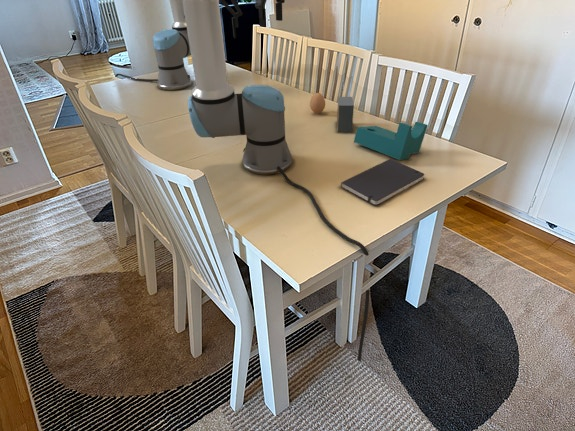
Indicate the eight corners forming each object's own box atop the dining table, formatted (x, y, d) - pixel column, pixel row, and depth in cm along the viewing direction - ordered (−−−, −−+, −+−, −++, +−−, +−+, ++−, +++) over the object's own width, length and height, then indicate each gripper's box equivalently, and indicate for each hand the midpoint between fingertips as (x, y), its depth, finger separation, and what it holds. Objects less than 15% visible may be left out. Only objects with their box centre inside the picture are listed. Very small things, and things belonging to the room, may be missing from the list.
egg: (314, 117, 155) (314, 96, 150) (307, 111, 159) (307, 91, 155) (327, 114, 157) (328, 94, 152) (320, 109, 161) (320, 89, 157)
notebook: (389, 163, 124) (340, 187, 113) (390, 158, 123) (341, 182, 112) (424, 178, 116) (375, 206, 105) (425, 174, 115) (376, 201, 104)
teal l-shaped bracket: (417, 156, 130) (427, 124, 125) (399, 160, 122) (409, 126, 118) (372, 139, 141) (380, 110, 136) (353, 141, 133) (361, 110, 129)
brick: (336, 122, 151) (338, 96, 145) (350, 122, 150) (352, 96, 144) (337, 132, 144) (338, 105, 138) (351, 132, 143) (353, 105, 137)
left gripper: (261, -35, 143) (263, 30, 156) (292, -40, 161) (293, 18, 174) (243, -35, 146) (247, 28, 159) (276, -40, 164) (277, 17, 176)
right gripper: (243, -32, 139) (248, 34, 152) (170, -29, 135) (181, 39, 147) (247, -31, 133) (251, 38, 146) (169, -27, 129) (181, 43, 141)
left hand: (271, 23), depth 166 cm, fingers open, 13 cm apart
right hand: (216, 38), depth 146 cm, fingers open, 13 cm apart
